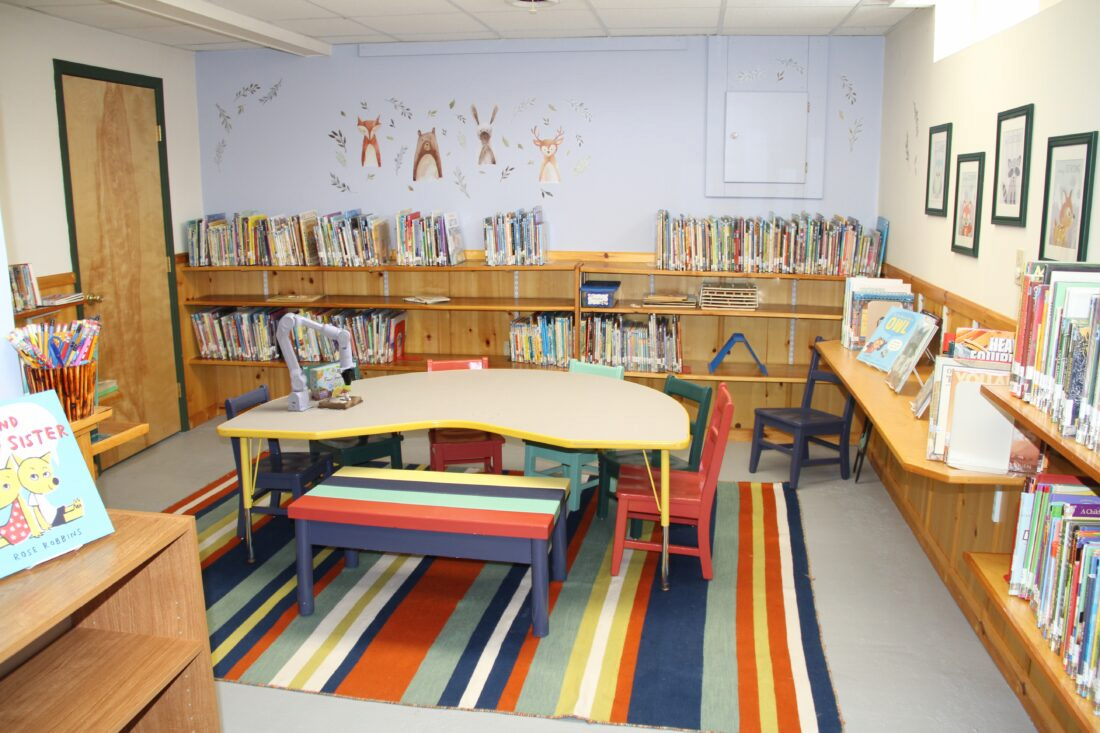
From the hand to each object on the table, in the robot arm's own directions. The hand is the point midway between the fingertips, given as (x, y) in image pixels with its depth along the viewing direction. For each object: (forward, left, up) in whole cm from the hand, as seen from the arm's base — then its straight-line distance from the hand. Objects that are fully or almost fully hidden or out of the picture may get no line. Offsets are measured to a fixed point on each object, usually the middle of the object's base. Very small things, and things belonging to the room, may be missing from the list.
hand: (348, 385), depth 404 cm
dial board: (-1, +4, -9) cm, 10 cm away
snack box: (+15, +19, -10) cm, 26 cm away
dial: (-1, +4, -8) cm, 9 cm away
